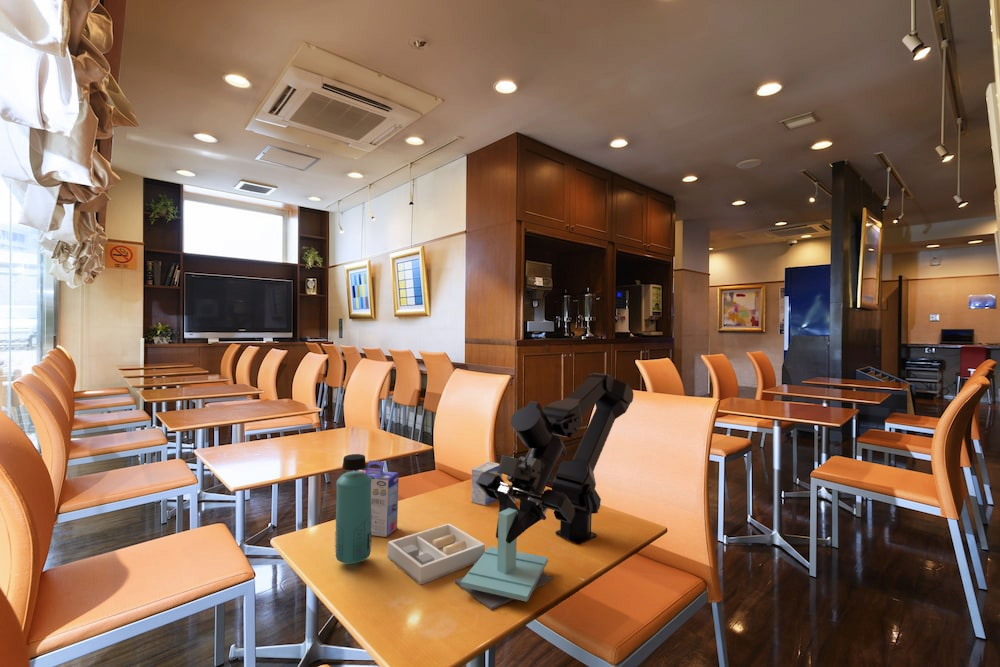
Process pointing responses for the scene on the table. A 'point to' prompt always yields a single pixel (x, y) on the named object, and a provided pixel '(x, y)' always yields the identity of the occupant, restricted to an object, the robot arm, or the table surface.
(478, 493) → the medicine box
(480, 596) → the mat
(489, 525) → the table surface
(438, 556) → the tub
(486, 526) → the table surface
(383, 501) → the ink cartridge box
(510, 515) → the lid
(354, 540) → the beverage bottle
